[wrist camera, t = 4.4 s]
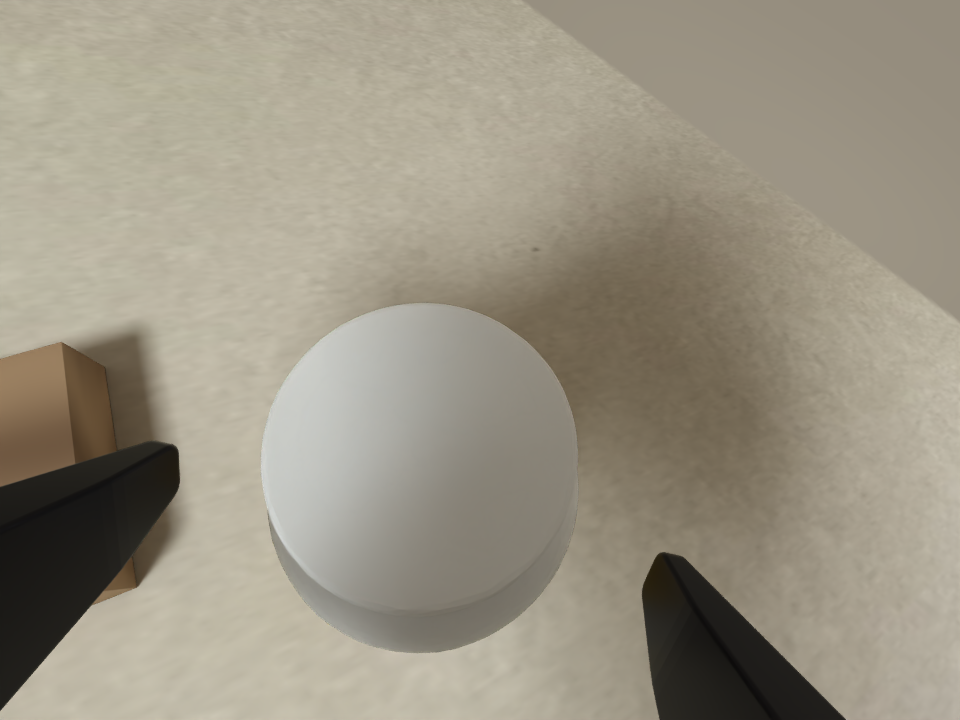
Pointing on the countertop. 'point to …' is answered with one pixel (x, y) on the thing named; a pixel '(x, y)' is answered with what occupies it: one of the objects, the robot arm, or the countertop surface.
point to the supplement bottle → (420, 477)
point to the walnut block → (55, 421)
